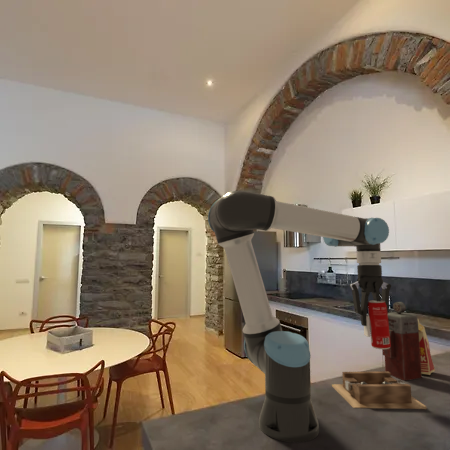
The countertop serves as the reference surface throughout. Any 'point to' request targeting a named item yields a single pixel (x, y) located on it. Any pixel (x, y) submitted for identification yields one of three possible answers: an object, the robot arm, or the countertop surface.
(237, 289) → the robot arm
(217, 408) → the countertop surface
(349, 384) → the plunger
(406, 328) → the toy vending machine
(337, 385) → the holder
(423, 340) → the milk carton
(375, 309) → the beverage can
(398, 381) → the plunger
